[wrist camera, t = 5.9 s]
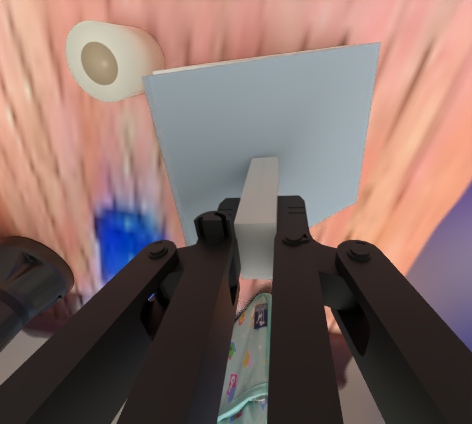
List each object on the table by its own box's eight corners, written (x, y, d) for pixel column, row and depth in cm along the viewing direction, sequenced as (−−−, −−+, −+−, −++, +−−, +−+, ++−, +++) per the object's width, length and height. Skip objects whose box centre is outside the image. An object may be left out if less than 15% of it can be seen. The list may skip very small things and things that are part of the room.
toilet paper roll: (122, 94, 30) (83, 105, 24) (102, 31, 27) (51, 26, 21) (170, 88, 29) (142, 98, 23) (156, 22, 26) (118, 14, 20)
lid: (195, 277, 17) (202, 286, 16) (140, 76, 11) (147, 76, 10) (346, 198, 24) (356, 201, 23) (366, 43, 17) (380, 42, 17)
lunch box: (267, 271, 41) (258, 441, 23) (322, 296, 43) (353, 475, 25) (209, 346, 56) (175, 487, 38) (251, 363, 57) (238, 507, 39)
